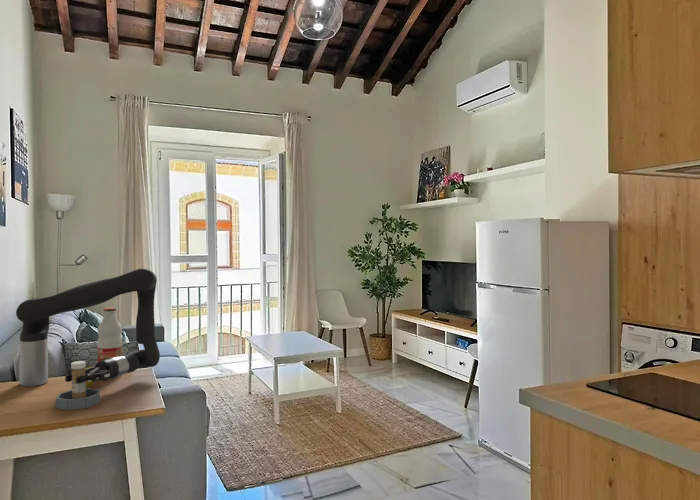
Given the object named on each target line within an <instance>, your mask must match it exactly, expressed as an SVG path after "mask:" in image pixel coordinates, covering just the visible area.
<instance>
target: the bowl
mask: <svg viewBox="0 0 700 500" xmlns="http://www.w3.org/2000/svg"><path fill="white" fill-rule="evenodd" d="M100 401H101V389H97V388H92V387H86V398H80V399H72V389H70V390H66V391H63V392H59V393H58V394H57V396H56V398H55V408H56V409H59V410H60V409H61V410H65V411H70V410H80V409H87V408H90V407H92V406H96V405H98V404H100Z"/></svg>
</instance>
